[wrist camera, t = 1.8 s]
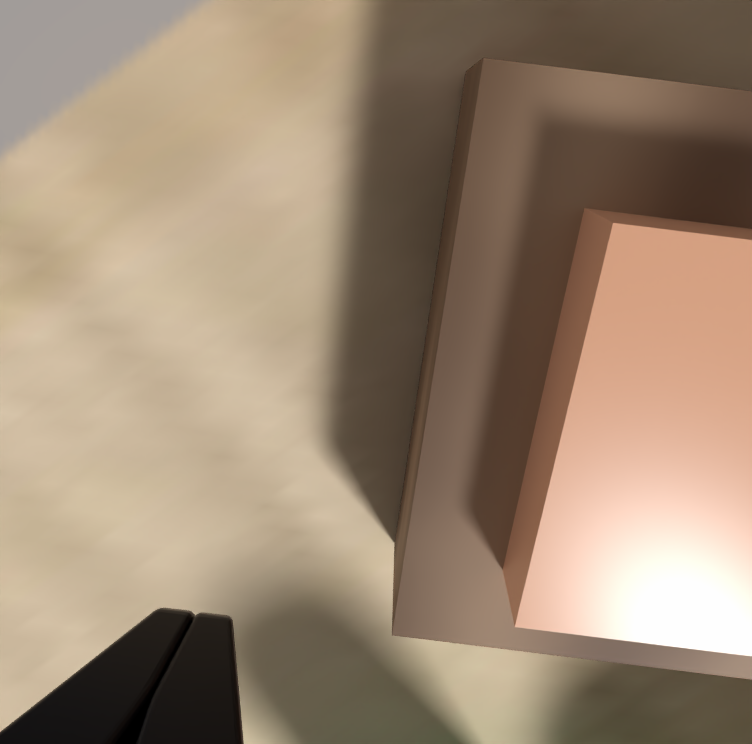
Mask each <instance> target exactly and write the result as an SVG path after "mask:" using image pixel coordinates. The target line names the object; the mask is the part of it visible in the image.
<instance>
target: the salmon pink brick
mask: <svg viewBox="0 0 752 744" xmlns="http://www.w3.org/2000/svg"><path fill="white" fill-rule="evenodd" d="M503 574H504V579H505V584H506V589H507V593H508V598H509V603H510V607H511V612H512V617H513V622H514V626H515V627H518V628H526V629H534V630H542V631H550V632H559V633H567V634H575V635H583V636H591V637H599V638H607V639H615V640H623V641H632V642H640V643H648V644H656V645H664V646H672V647H680V648H688V649H696V650H705V651H713V652H721V653H729V654H737V655H745V656H752V229H748V228H740V227H732V226H724V225H716V224H708V223H699V222H691V221H683V220H675V219H667V218H659V217H651V216H643V215H635V214H627V213H619V212H611V211H603V210H595V209H587V208H584V212H583V217H582V221H581V225H580V230H579V234H578V239H577V243H576V247H575V252H574V256H573V261H572V265H571V270H570V274H569V278H568V283H567V287H566V292H565V296H564V301H563V305H562V309H561V314H560V318H559V323H558V327H557V331H556V336H555V340H554V345H553V349H552V354H551V358H550V362H549V367H548V371H547V376H546V380H545V385H544V389H543V393H542V398H541V402H540V407H539V411H538V416H537V420H536V424H535V429H534V433H533V438H532V442H531V446H530V451H529V455H528V460H527V464H526V469H525V473H524V477H523V482H522V486H521V491H520V495H519V500H518V504H517V508H516V513H515V517H514V522H513V526H512V531H511V535H510V539H509V544H508V548H507V553H506V557H505V561H504V566H503Z"/></svg>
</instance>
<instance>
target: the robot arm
mask: <svg viewBox="0 0 752 744" xmlns="http://www.w3.org/2000/svg"><path fill="white" fill-rule="evenodd" d="M0 744H244V742H243V731H242V720H241V708H240V697H239V686H238V674H237V663H236V652H235V641H234V629H233V621H232V619H231V617H230V616H227V615H219V614H211V613H199V614H197V615H196V616H195V615H194V614H193V613H192V612H191V611H187V610H179V609H171V608H160V609H157V610H155V611H154V612H152V613H151V614H150V615H149V616H147V617H146V618H145V619H143V620H142V621H141V622H140V623H138V624H137V625H136V626H135V627H133V628H132V629H131V630H129V631H128V632H127V633H126V634H124V635H123V636H122V637H121V638H119V639H118V640H117V641H115V642H114V643H113V644H112V645H110V646H109V647H108V648H107V649H105V650H104V651H103V652H101V653H100V654H99V655H98V656H96V657H95V658H94V659H93V660H91V661H90V662H89V663H87V664H86V665H85V666H84V667H82V668H81V669H80V670H79V671H77V672H76V673H75V674H73V675H72V676H71V677H70V678H68V679H67V680H66V681H65V682H63V683H62V684H61V685H59V686H58V687H57V688H56V689H54V690H53V691H52V692H51V693H49V694H48V695H47V696H45V697H44V698H43V699H42V700H40V701H39V702H38V703H37V704H35V705H34V706H33V707H31V708H30V709H29V710H28V711H26V712H25V713H24V714H23V715H21V716H20V717H19V718H17V719H16V720H15V721H14V722H12V723H11V724H10V725H9V726H7V727H6V728H5V729H3V730H2V731H1V732H0Z"/></svg>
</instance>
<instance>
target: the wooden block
mask: <svg viewBox="0 0 752 744" xmlns="http://www.w3.org/2000/svg"><path fill="white" fill-rule="evenodd" d="M584 208H587V209H595V210H603V211H611V212H619V213H627V214H635V215H643V216H651V217H659V218H667V219H675V220H683V221H691V222H699V223H708V224H716V225H724V226H732V227H740V228H748V229H752V91H746V90H738V89H730V88H722V87H714V86H706V85H698V84H690V83H682V82H674V81H666V80H658V79H650V78H642V77H634V76H625V75H617V74H609V73H601V72H593V71H585V70H577V69H569V68H561V67H553V66H545V65H537V64H529V63H521V62H513V61H505V60H497V59H489V58H483V59H481V60H480V61H479V62H478V63H476V64H475V65H474V66H472V67H471V68H470V69H469V70H467V71H466V74H465V81H464V88H463V94H462V101H461V107H460V114H459V121H458V127H457V134H456V141H455V147H454V154H453V160H452V167H451V174H450V180H449V187H448V194H447V200H446V207H445V213H444V220H443V227H442V233H441V240H440V247H439V253H438V260H437V267H436V273H435V280H434V286H433V293H432V300H431V306H430V313H429V320H428V326H427V333H426V339H425V346H424V353H423V359H422V366H421V373H420V379H419V386H418V392H417V399H416V406H415V412H414V419H413V426H412V432H411V439H410V445H409V452H408V459H407V465H406V472H405V479H404V485H403V492H402V499H401V505H400V512H399V518H398V525H397V532H396V538H395V547H394V582H393V618H392V635H394V636H402V637H410V638H419V639H427V640H435V641H443V642H451V643H459V644H467V645H475V646H484V647H492V648H500V649H508V650H516V651H524V652H532V653H540V654H548V655H557V656H565V657H573V658H581V659H589V660H597V661H605V662H613V663H621V664H630V665H638V666H646V667H654V668H662V669H670V670H678V671H686V672H694V673H703V674H711V675H719V676H727V677H735V678H743V679H751V680H752V656H745V655H737V654H729V653H721V652H713V651H705V650H696V649H688V648H680V647H672V646H664V645H656V644H648V643H640V642H632V641H623V640H615V639H607V638H599V637H591V636H583V635H575V634H567V633H559V632H550V631H542V630H534V629H526V628H518V627H515V626H514V622H513V617H512V612H511V607H510V603H509V598H508V593H507V589H506V584H505V579H504V574H503V566H504V561H505V557H506V553H507V548H508V544H509V539H510V535H511V531H512V526H513V522H514V517H515V513H516V508H517V504H518V500H519V495H520V491H521V486H522V482H523V477H524V473H525V469H526V464H527V460H528V455H529V451H530V446H531V442H532V438H533V433H534V429H535V424H536V420H537V416H538V411H539V407H540V402H541V398H542V393H543V389H544V385H545V380H546V376H547V371H548V367H549V362H550V358H551V354H552V349H553V345H554V340H555V336H556V331H557V327H558V323H559V318H560V314H561V309H562V305H563V301H564V296H565V292H566V287H567V283H568V278H569V274H570V270H571V265H572V261H573V256H574V252H575V247H576V243H577V239H578V234H579V230H580V225H581V221H582V217H583V212H584Z"/></svg>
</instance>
